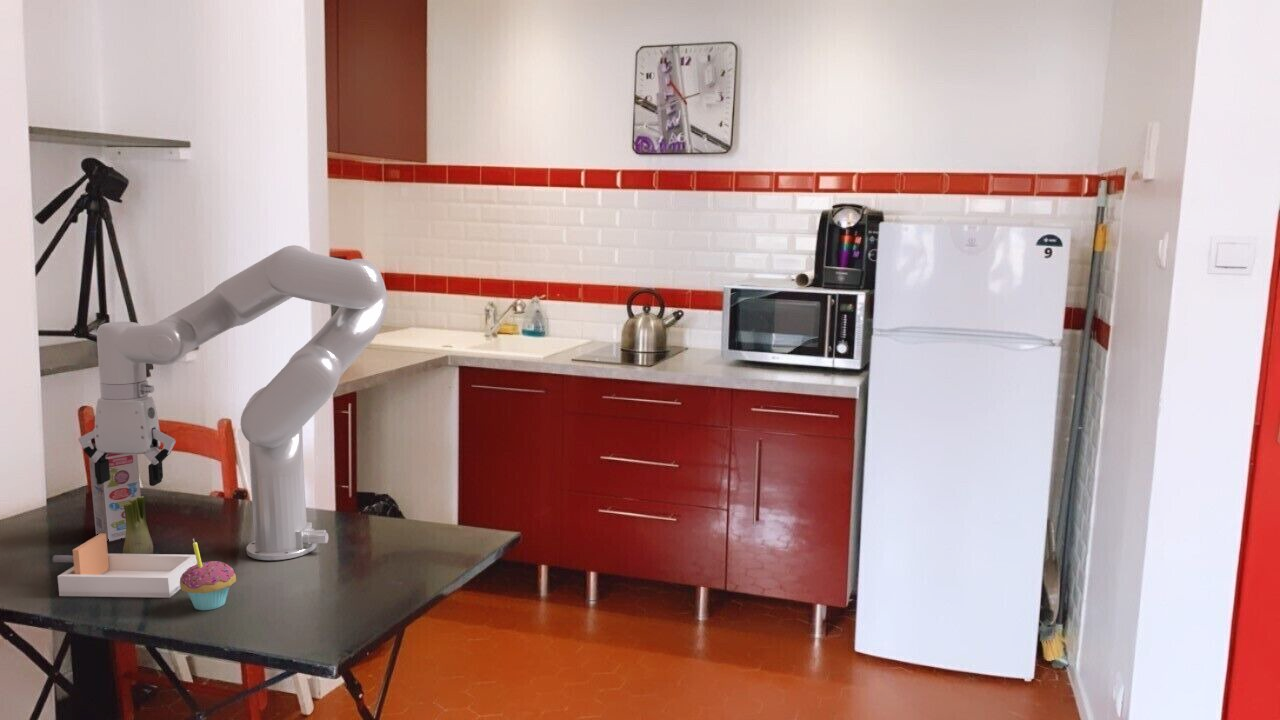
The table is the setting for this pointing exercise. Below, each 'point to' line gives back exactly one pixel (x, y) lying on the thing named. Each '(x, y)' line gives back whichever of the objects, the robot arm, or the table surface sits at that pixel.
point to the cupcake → (207, 582)
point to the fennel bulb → (136, 528)
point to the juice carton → (114, 494)
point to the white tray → (130, 577)
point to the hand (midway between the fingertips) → (129, 483)
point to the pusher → (88, 556)
